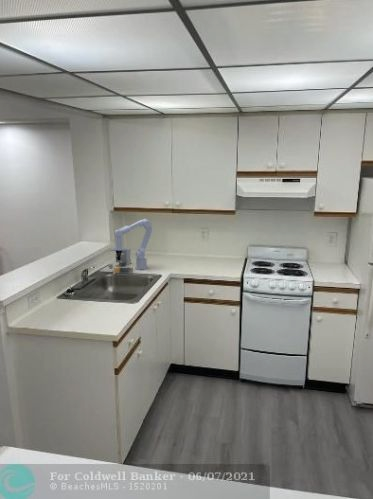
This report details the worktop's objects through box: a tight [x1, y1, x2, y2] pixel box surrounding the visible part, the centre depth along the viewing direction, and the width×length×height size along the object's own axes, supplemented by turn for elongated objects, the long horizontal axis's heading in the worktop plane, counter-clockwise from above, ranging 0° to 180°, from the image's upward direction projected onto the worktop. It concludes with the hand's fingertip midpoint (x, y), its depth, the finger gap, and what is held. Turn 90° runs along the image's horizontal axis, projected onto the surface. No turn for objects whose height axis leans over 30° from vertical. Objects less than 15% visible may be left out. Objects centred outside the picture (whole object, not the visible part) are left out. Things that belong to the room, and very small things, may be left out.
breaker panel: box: [112, 264, 134, 277], centre depth 303 cm, size 16×18×4 cm
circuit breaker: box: [115, 246, 132, 267], centre depth 325 cm, size 8×14×15 cm, turn 152°
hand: (119, 259), depth 308 cm, fingers closed
